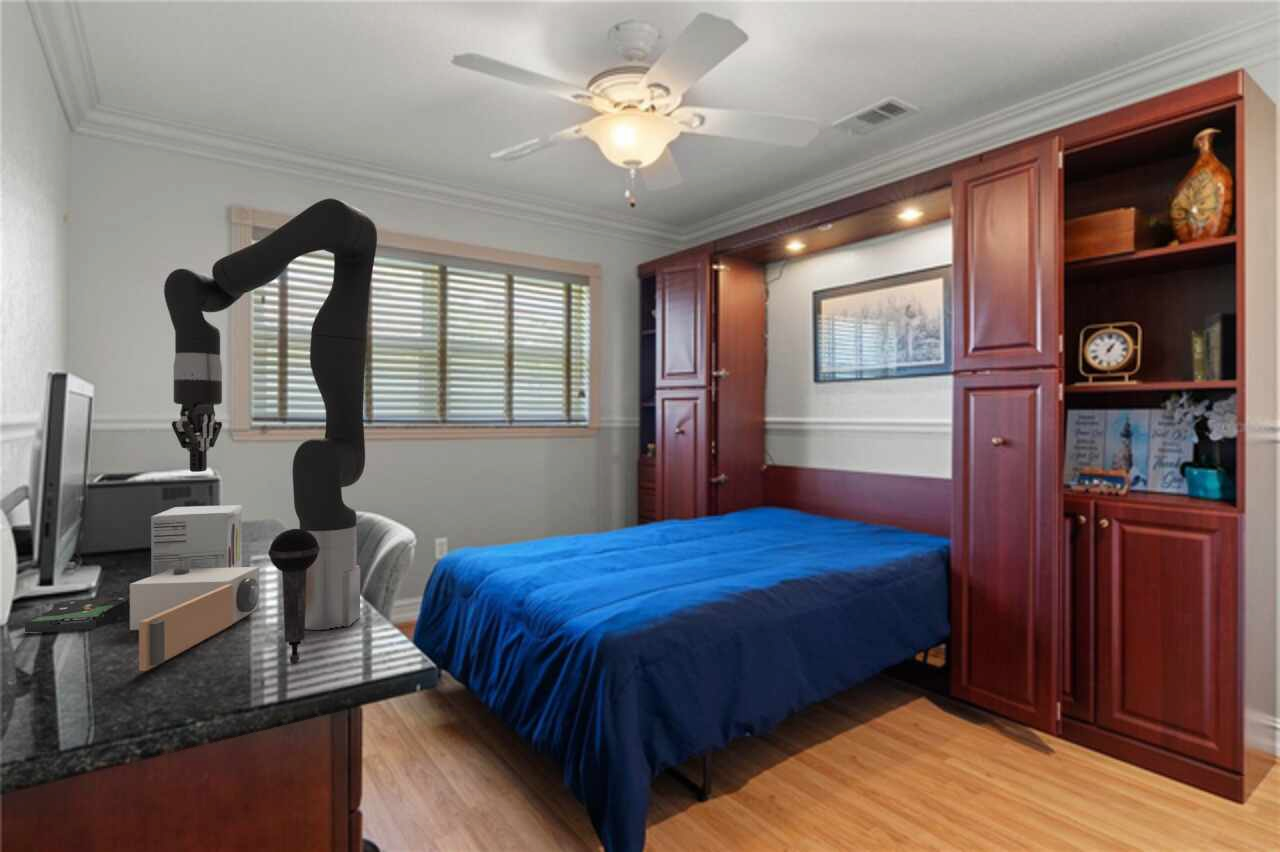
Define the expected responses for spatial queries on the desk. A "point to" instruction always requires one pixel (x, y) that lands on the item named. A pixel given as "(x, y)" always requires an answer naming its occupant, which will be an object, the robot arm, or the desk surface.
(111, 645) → the desk surface
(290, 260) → the robot arm
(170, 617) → the door
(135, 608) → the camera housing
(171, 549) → the supplement box
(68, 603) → the disk drive
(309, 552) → the microphone
